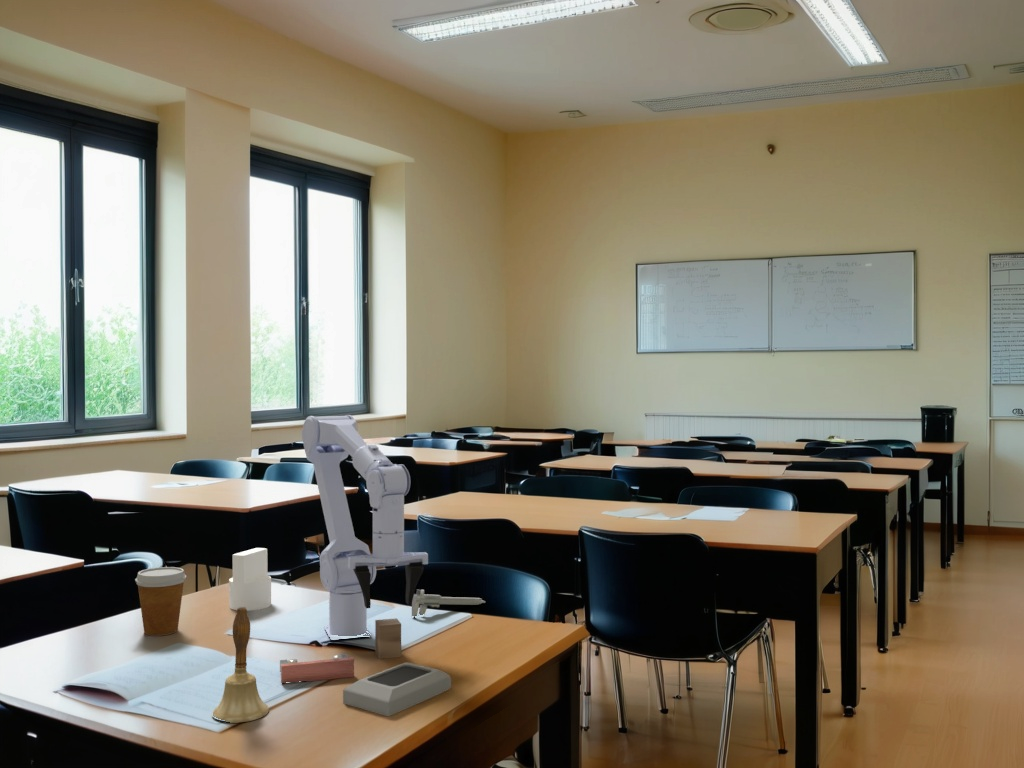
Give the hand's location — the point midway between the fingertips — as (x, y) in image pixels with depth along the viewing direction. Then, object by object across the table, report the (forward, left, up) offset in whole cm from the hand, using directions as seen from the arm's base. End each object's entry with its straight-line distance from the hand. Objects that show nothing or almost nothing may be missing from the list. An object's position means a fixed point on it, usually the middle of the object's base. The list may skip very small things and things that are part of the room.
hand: (388, 605), depth 169 cm
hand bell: (+22, -27, -9) cm, 36 cm away
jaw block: (0, 0, -9) cm, 9 cm away
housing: (+7, -14, -9) cm, 18 cm away
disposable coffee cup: (-29, -40, -9) cm, 50 cm away
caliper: (-27, +19, -10) cm, 34 cm away
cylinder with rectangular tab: (-45, -22, -9) cm, 51 cm away
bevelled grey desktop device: (+22, -3, -10) cm, 24 cm away
